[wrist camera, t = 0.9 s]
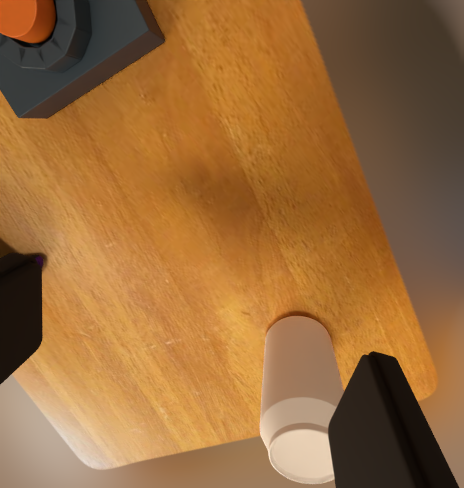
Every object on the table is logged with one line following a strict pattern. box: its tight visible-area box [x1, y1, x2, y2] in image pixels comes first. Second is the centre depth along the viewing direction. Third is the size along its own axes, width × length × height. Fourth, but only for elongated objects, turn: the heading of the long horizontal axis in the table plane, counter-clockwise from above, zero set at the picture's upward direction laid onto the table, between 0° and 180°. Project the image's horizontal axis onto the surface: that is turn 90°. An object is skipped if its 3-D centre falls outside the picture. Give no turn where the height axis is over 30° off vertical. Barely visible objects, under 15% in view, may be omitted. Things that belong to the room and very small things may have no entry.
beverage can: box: [260, 316, 344, 484], centre depth 25 cm, size 6×6×12 cm
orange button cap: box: [0, 0, 56, 44], centre depth 19 cm, size 4×4×2 cm
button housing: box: [0, 0, 165, 118], centre depth 22 cm, size 12×8×5 cm, turn 116°
